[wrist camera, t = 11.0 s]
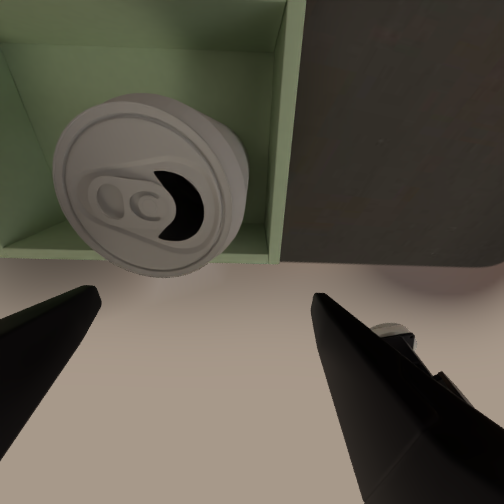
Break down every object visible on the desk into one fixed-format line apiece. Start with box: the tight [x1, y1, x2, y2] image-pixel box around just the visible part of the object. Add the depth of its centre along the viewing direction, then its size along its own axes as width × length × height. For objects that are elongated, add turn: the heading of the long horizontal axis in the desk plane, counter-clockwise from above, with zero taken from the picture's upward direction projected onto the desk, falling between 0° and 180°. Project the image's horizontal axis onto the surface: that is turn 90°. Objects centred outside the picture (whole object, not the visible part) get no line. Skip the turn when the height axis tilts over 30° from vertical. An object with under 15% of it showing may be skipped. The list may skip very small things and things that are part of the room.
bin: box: [0, 0, 306, 264], centre depth 14 cm, size 20×14×7 cm
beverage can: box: [52, 93, 250, 278], centre depth 12 cm, size 6×6×12 cm
